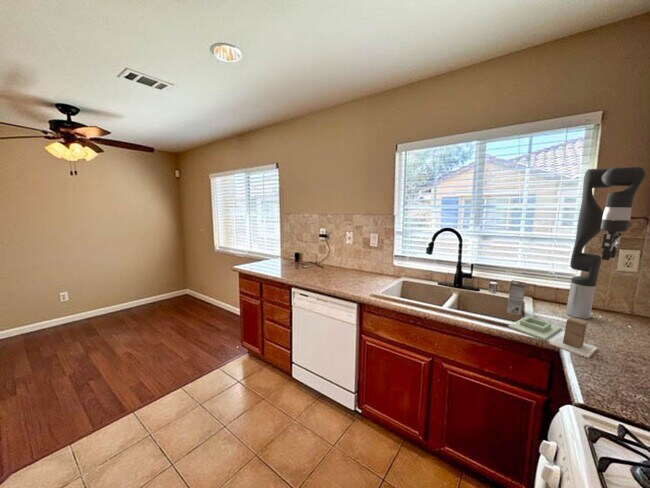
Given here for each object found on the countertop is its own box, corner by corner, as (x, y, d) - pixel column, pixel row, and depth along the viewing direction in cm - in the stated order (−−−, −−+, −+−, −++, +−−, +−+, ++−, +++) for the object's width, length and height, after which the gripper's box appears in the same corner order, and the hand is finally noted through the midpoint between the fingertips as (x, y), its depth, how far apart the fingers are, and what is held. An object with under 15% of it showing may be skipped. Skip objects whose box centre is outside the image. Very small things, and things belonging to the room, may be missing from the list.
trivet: (559, 336, 117) (559, 334, 117) (597, 349, 107) (597, 346, 107) (548, 343, 110) (549, 341, 110) (588, 358, 100) (588, 355, 100)
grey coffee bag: (507, 307, 149) (511, 279, 146) (522, 310, 145) (526, 282, 142) (506, 312, 142) (510, 283, 139) (521, 315, 138) (525, 286, 135)
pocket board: (526, 317, 136) (527, 312, 135) (561, 329, 124) (562, 323, 123) (508, 327, 125) (509, 321, 124) (544, 340, 113) (545, 333, 113)
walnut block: (567, 339, 112) (570, 317, 110) (582, 345, 108) (587, 322, 106) (562, 343, 109) (566, 320, 108) (579, 348, 105) (583, 325, 104)
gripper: (607, 218, 113) (600, 255, 115) (597, 218, 105) (590, 258, 107) (633, 219, 106) (625, 258, 109) (625, 219, 99) (617, 262, 101)
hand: (608, 258), depth 108 cm, fingers open, 8 cm apart
